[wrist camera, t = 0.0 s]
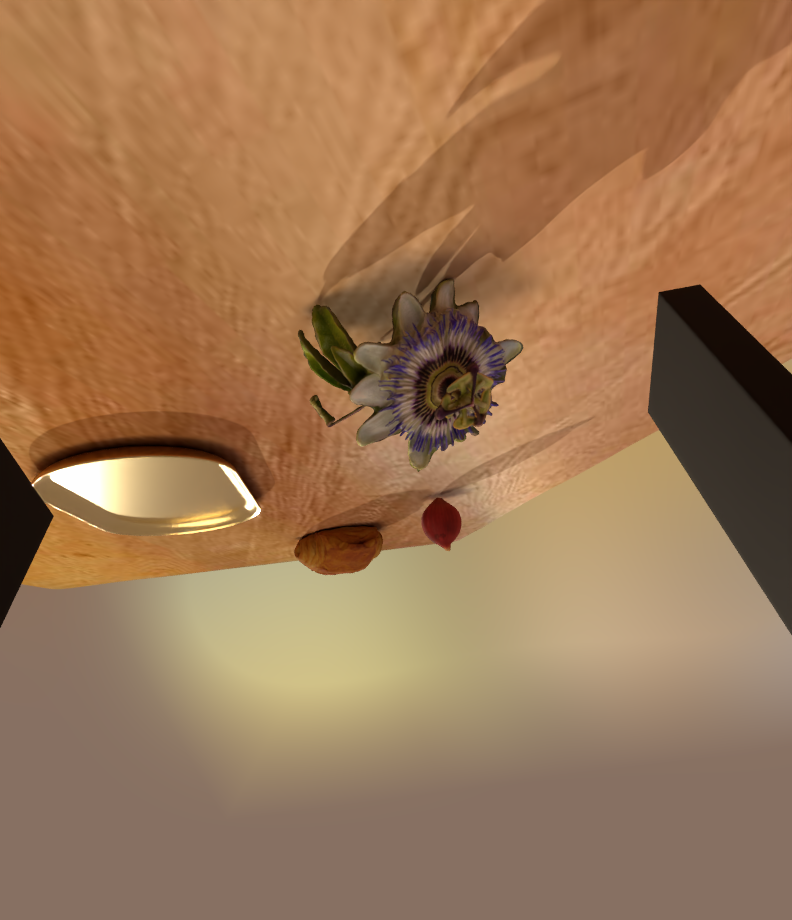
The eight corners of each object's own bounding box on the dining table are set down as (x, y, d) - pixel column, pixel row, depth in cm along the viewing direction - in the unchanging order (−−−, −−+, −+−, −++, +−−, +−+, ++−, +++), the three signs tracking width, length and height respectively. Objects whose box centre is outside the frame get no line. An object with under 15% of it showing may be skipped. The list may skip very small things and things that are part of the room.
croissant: (356, 528, 127) (367, 569, 125) (282, 544, 118) (292, 589, 116) (396, 512, 115) (408, 557, 114) (317, 528, 106) (329, 578, 105)
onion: (413, 504, 101) (422, 556, 99) (423, 495, 96) (433, 550, 93) (449, 500, 102) (459, 551, 100) (461, 491, 97) (471, 545, 95)
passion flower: (423, 207, 41) (568, 338, 39) (372, 321, 50) (488, 432, 48) (292, 278, 35) (458, 437, 33) (260, 394, 44) (389, 524, 42)
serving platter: (217, 428, 57) (219, 445, 56) (268, 510, 90) (269, 522, 90) (-13, 457, 55) (-13, 475, 55) (126, 530, 89) (127, 542, 88)
